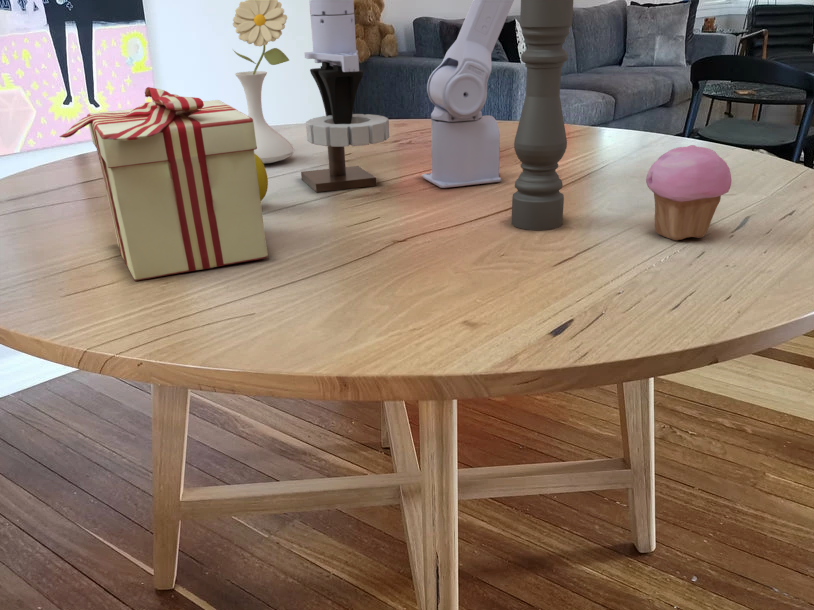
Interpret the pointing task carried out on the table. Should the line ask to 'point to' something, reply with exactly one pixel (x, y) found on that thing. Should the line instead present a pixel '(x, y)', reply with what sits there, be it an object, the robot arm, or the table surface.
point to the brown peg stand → (338, 174)
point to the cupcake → (687, 190)
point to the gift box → (180, 183)
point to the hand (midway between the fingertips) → (339, 123)
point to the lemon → (261, 177)
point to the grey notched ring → (348, 131)
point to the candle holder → (541, 116)
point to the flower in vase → (260, 26)
